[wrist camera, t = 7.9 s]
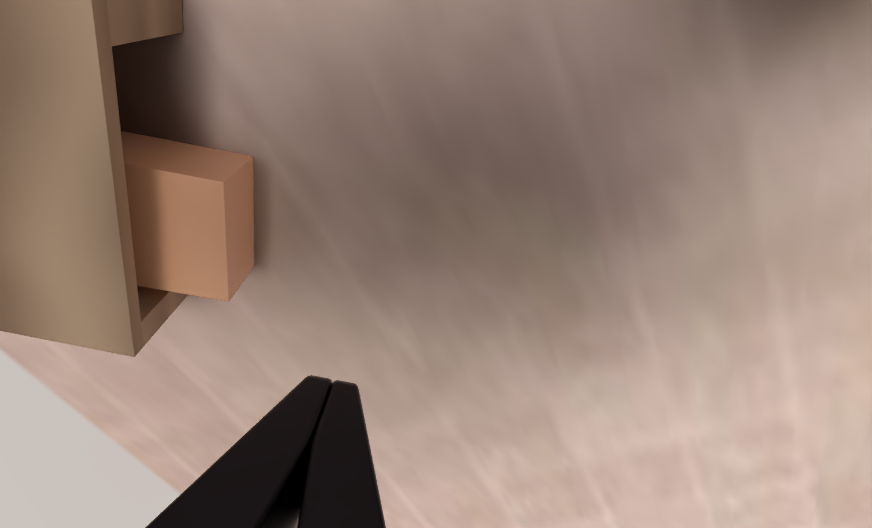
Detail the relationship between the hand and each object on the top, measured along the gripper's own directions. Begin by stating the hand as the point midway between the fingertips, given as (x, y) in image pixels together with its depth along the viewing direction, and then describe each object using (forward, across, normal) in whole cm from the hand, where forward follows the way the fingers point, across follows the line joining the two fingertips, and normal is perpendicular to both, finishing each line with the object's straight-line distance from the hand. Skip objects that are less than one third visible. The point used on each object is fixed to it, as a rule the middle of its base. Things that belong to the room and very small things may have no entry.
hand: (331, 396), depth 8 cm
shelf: (+12, +12, +2) cm, 17 cm away
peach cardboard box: (+12, +10, +4) cm, 16 cm away
